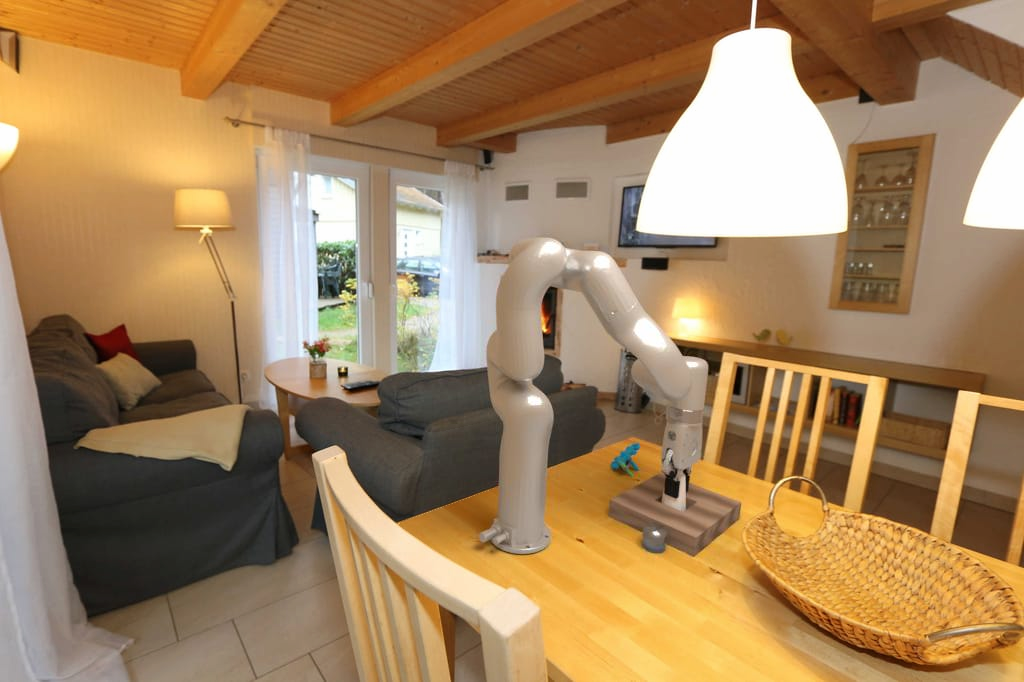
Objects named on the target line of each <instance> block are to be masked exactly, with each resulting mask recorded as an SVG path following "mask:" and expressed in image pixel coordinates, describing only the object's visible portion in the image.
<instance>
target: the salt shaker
mask: <svg viewBox="0 0 1024 682" xmlns="http://www.w3.org/2000/svg"><path fill="white" fill-rule="evenodd" d="M672 465H674V463H672ZM670 470H671V471H673V472H674V473H675V469H672V468H671V469H670ZM678 481H680V488H679V497H678V498H677V499H676V498H673V497H671V496H668V495H666V494H664V492H663V496H662V501H661V503H663V504H665V505H668V506H670V507H672V508H675V509H677V510H680V511H682V512H683V511H685V510H686V479H685V474H684V473H683V470H682V471H680V475H679V480H678Z"/></svg>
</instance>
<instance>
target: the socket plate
mask: <svg viewBox="0 0 1024 682" xmlns="http://www.w3.org/2000/svg"><path fill="white" fill-rule="evenodd" d="M664 487H665V474H664V473H663V472H659V473H656V475H653V476H651V477H649V478H648V479H646V480H644V481H642V482H640V483H639V484H636V485H634V486H632V487H630V488H629V489H627V490H625V491H623V492H621V493H620V494H618V495H616V496H614V497H612V498H611V499H609V507H608V517H609V518H612V519H614V520H616V521H618V522H620V523H622V524H624V525H626V526H628V527H631V528H633V529H635V530H636V531H639V532H641V533H643V527H644V525H645V524H647V523H657V524H660V525H663V526H664V527H665V528H666V529H667V540H666V545H669V546H670V547H673V548H675V549H676V550H678V551H681V552H682V553H685V554H687V555H690V556H691V557H693V558H694V557H696V555H698V554H699V553H700V552H701V551H703V550H704V549H705V548H706V547H707V546H708V545H710V544H711V543H712V542H714V540H716V539H717V538H718V537H719V536H720V535H723V533H724V532H725V531H726V530H728V529H729V528H730V527H731V526H733V525H735V523H736V522H737V521H739V520H740V516H741V507H742V502H741V501H739V500H736V499H733V498H731V497H728V496H725V495H723V494H720V493H717V492H714V491H712V490H709V489H706V488H705V487H702V486H698V485H696V484H693V483H690V482H689V489H688V492H686V510H685V511H683V512H682V511H680V510H677V509H675V508H672V507H670V506H668V505H665V504H663V503H661V501H662V496H663V492H664Z"/></svg>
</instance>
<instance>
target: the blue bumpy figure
mask: <svg viewBox="0 0 1024 682" xmlns="http://www.w3.org/2000/svg"><path fill="white" fill-rule="evenodd" d="M640 449H641V444H640V443H639V442H633V443H632V444H631V445H627V446H626V447H625V449H624V450H623V449H622V450H621V451H619V456H618V455H616V456H615V457H614V458H613V459H614V460H612V461H611V462H610V467H611V469H612V470H614V469H615V470H617V469H619V468H620V467H621V469H622V470H623V471H624V472H627V474H628V475H629V476H630V477H631V476H632V477H634V473H632V471H631V470H630V469H629V468H630V466H631V467H632V468H633V469H634V470H635V471H636V470H637V471H638V470H639V466H638V465H636V463H635V462H634V460H633V458H632V456H636V455H637V454H638V451H640Z"/></svg>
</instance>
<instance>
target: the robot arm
mask: <svg viewBox="0 0 1024 682" xmlns="http://www.w3.org/2000/svg"><path fill="white" fill-rule="evenodd" d="M507 258H508V260H507V262H508V267H507V268H506V270H505V272H503V275H502V277H501V279H500V281H499V284H498V287H497V291H496V296H495V318H496V319H495V322H496V323H495V324H496V325H495V326H496V329H495V330H494V331H493V332H492V333H491V335H490V336H489V339H488V341H487V344H486V351H485V352H486V356H485V358H486V359H485V360H486V368H487V369H486V370H487V377H488V388H489V397H490V401H491V405H492V408H493V409H494V411H495V413H496V414H497V416H498V417H500V420H501V421H502V423H503V425H502V426H503V431H502V436H501V441H500V446H499V447H500V448H499V460H498V461H499V469H498V497H497V499H498V500H497V517H495V518H493V524H491V526H490V528H489V529H486V530H483V531H480V533H478V538H479V541H480V542H481V543H487V542H488V541H490V542H491V543H492V544H493V545H494V546H495V548H498V549H499V550H502V551H504V552H506V553H507V552H508V553H509V554H510V553H511V554H517V555H526V554H527V555H529V554H534V553H537V552H541V551H543V550H545V548H547V547H548V546H549V544H550V543H551V541H552V531H551V529H550V527H549V526H548V525H547V524H546V523H545V518H546V517H545V515H546V514H545V513H546V496H547V494H546V493H547V475H548V457H549V455H548V454H549V448H550V447H549V446H550V439H551V434H552V431H553V424H554V418H555V417H554V410H553V406H552V403H551V401H550V399H549V398H548V397H547V396H546V394H545V393H544V392H543V391H541V389H539V388H538V387H537V386H536V385H534V384H533V380H534V379H536V378H538V376H539V375H540V374H541V372H542V371H543V369H544V364H545V350H544V338H543V337H544V336H543V326H542V324H543V323H542V305H543V299H544V296H545V294H546V292H547V291H548V289H549V288H550V287H553V288H557V289H563V290H569V291H574V292H578V293H581V295H583V297H584V298H585V300H586V302H587V303H588V305H589V306H590V308H591V310H592V311H593V312H594V314H595V316H596V318H597V319H598V321H599V323H600V324H601V326H602V327H603V329H604V331H605V332H606V333H607V334H608V335H609V336H610V337H611V338H612V339H613V340H614V341H615V342H616V343H617V344H619V345H620V346H622V347H624V348H625V349H626V350H628V352H630V353H631V354H632V355H633V356H635V357H636V358H637V359H636V360H635V361H634V362H633V364H632V365H631V369H630V371H631V373H630V374H631V376H632V380H633V381H634V382H635V384H637V385H638V386H639V387H641V388H642V389H643V390H647V391H648V392H650V393H653V394H654V395H656V396H659V397H660V398H662V399H665V400H667V403H666V414H665V419H666V425H665V428H664V433H663V439H662V444H661V445H662V447H661V453H660V454H661V457H660V461H661V464H662V465H661V467H660V468H661V469H660V473H664V474H665V487H664V494H666V495H668V496H671V497H673V498H676V499H677V498H678V497H679V488H680V481H678V480H679V475H680V471H682V470H683V473H684V474H685V479H686V492H688V489H689V483H690V479H691V473H692V466H694V465H695V464H697V463H698V462H699V461H700V460H701V458H702V448H703V447H702V445H703V418H704V411H705V410H704V409H705V401H706V400H705V399H706V393H707V385H708V384H707V383H708V374H709V363H708V361H706V360H705V359H704V358H700V357H697V356H688V355H687V356H685V355H683V354H682V353H681V351H680V349H679V348H678V346H677V345H676V344H675V342H674V341H673V340H672V339H671V338H670V336H669V335H668V334H667V333H666V331H664V330H663V329H662V328H661V326H659V325H658V323H657V322H656V321H655V320H654V319H653V318H652V317H651V316H650V315H649V314H648V313H647V312H646V311H645V309H644V308H643V306H642V305H641V303H640V302H639V300H638V298H637V297H636V294H635V293H634V291H633V289H632V287H631V286H630V284H629V282H628V281H627V279H626V277H625V276H624V274H623V272H622V270H621V269H620V267H619V266H618V264H617V262H616V261H615V259H614V258H613V257H612V256H611V255H610V254H608V253H606V252H604V251H600V250H579V249H572V248H569V247H568V248H567V247H564V245H563V243H561V242H560V241H559V240H557V239H555V238H553V237H548V236H547V237H545V236H544V237H543V236H542V237H541V236H540V237H539V236H538V237H532V238H531V237H530V238H529V237H528V238H524V239H521V240H519V241H517V242H516V243H515V244H514V245H513V246H512V247H511V248H510V251H509V254H508V257H507ZM672 463H674V465H672ZM671 468H672V469H675V473H674V472H673V471H671Z"/></svg>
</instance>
